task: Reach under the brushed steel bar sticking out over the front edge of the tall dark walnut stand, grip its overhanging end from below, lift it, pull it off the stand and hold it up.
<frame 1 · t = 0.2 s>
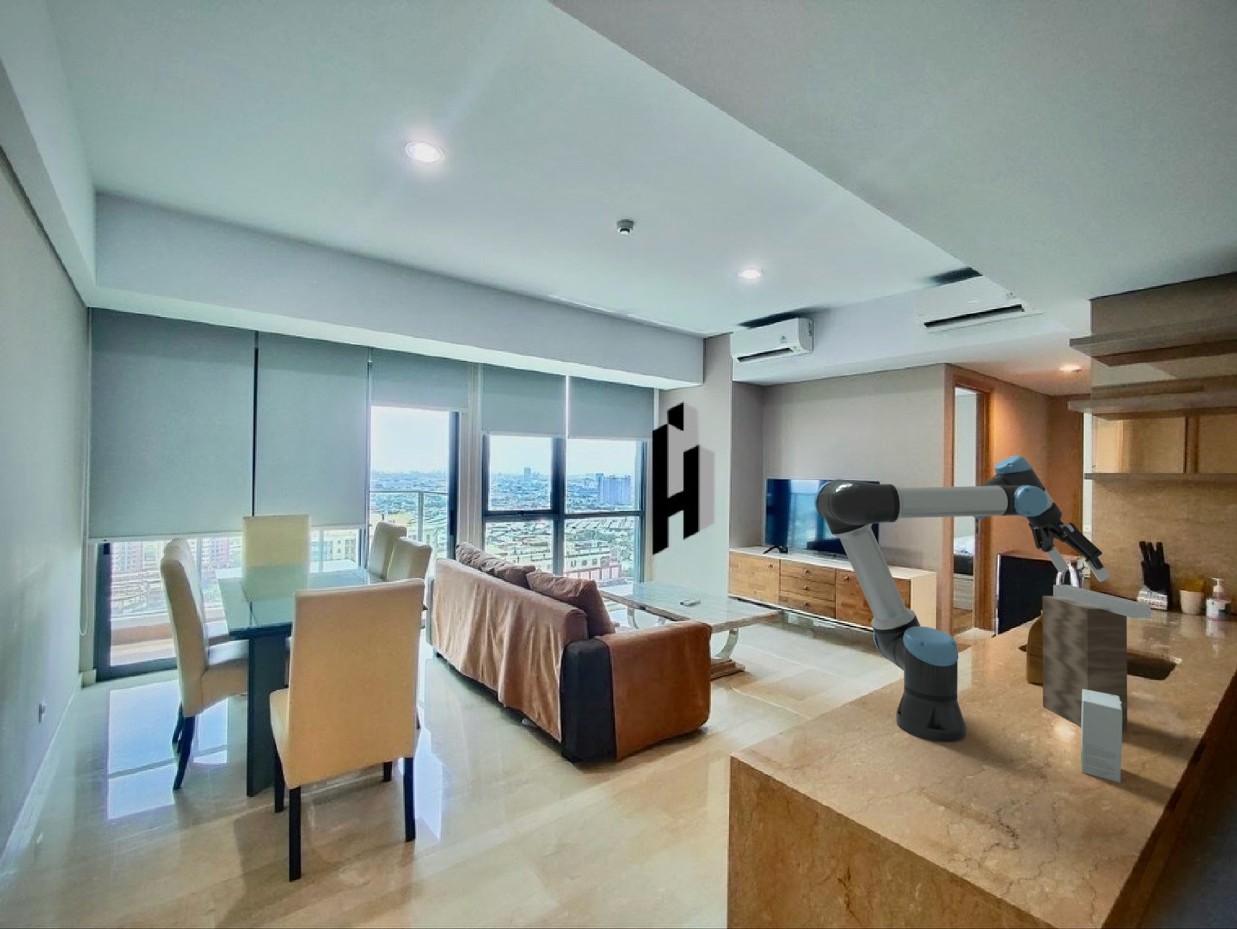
hand: (1083, 574, 151), 36 cm above the worktop, tool tilted 35°, fingers open, 13 cm apart
skincare box: (1101, 771, 119), on the worktop
steel bar: (1097, 606, 140), point 30 cm above the worktop, touching walnut stand
brown bottle: (1046, 682, 170), on the worktop
walnut stand: (1083, 717, 145), on the worktop
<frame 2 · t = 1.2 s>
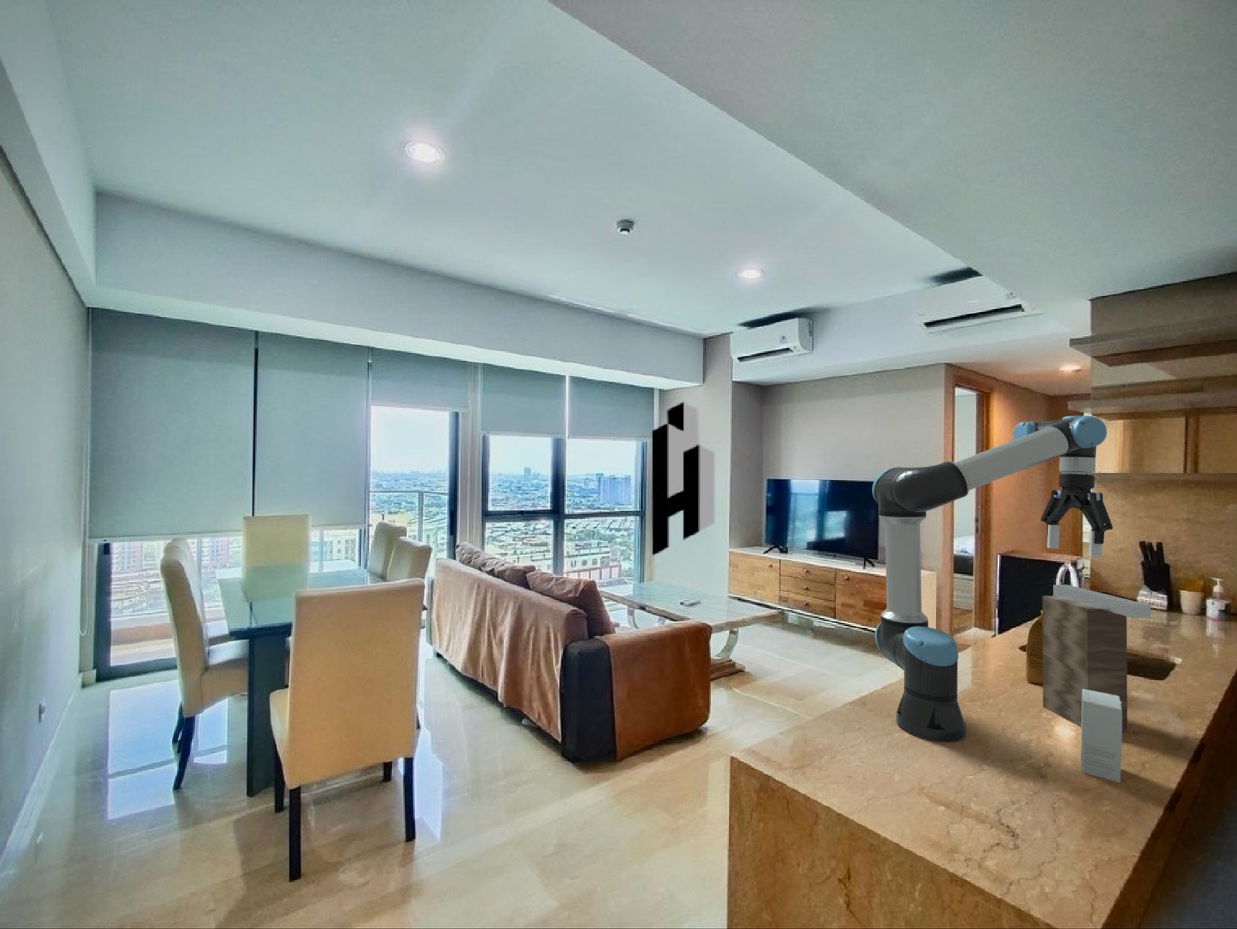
hand: (1073, 552, 151), 42 cm above the worktop, tool pointing down, fingers open, 13 cm apart
nothing on the worktop moved.
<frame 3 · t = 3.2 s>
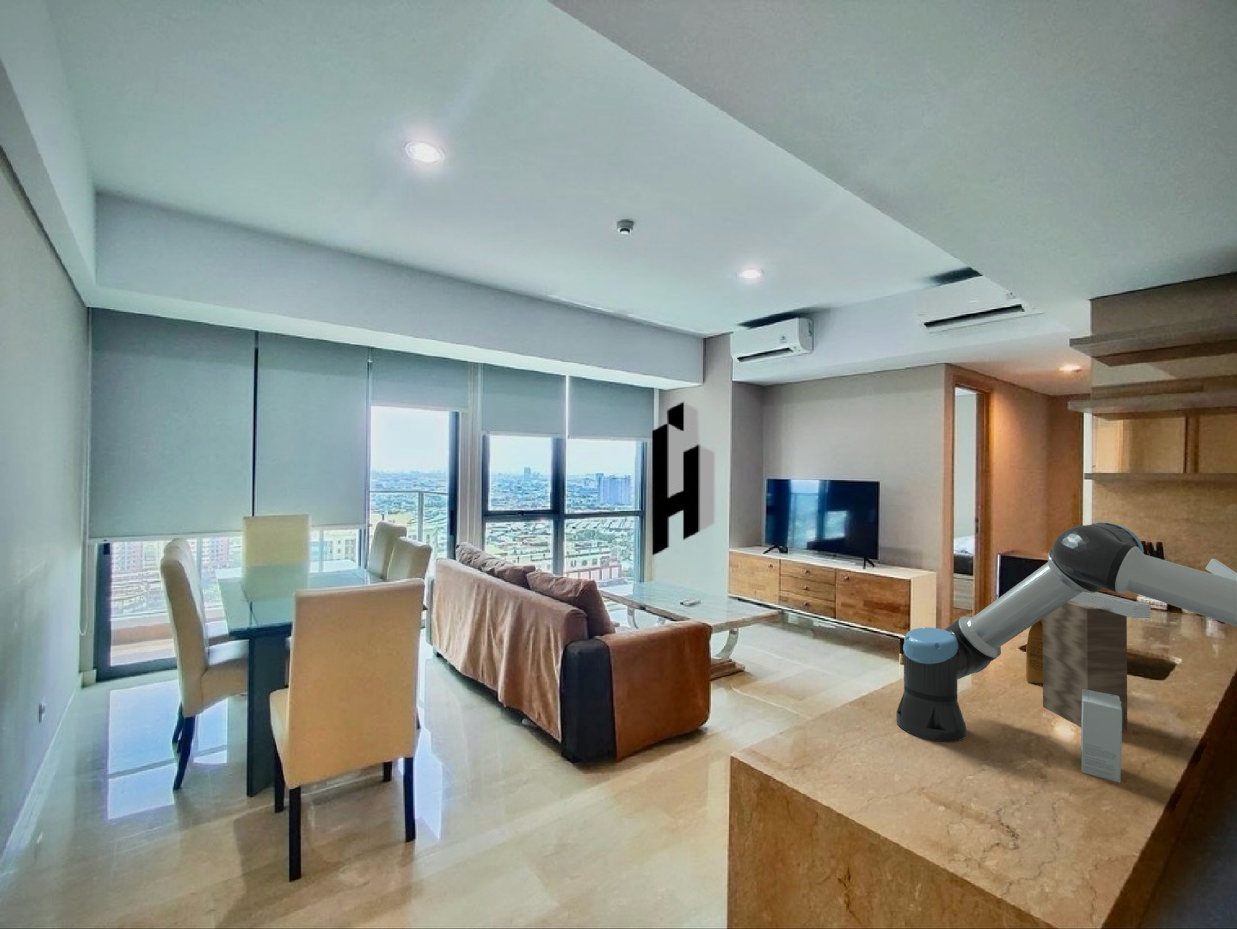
hand: (1179, 563, 121), 44 cm above the worktop, tool pointing upward, fingers open, 13 cm apart
nothing on the worktop moved.
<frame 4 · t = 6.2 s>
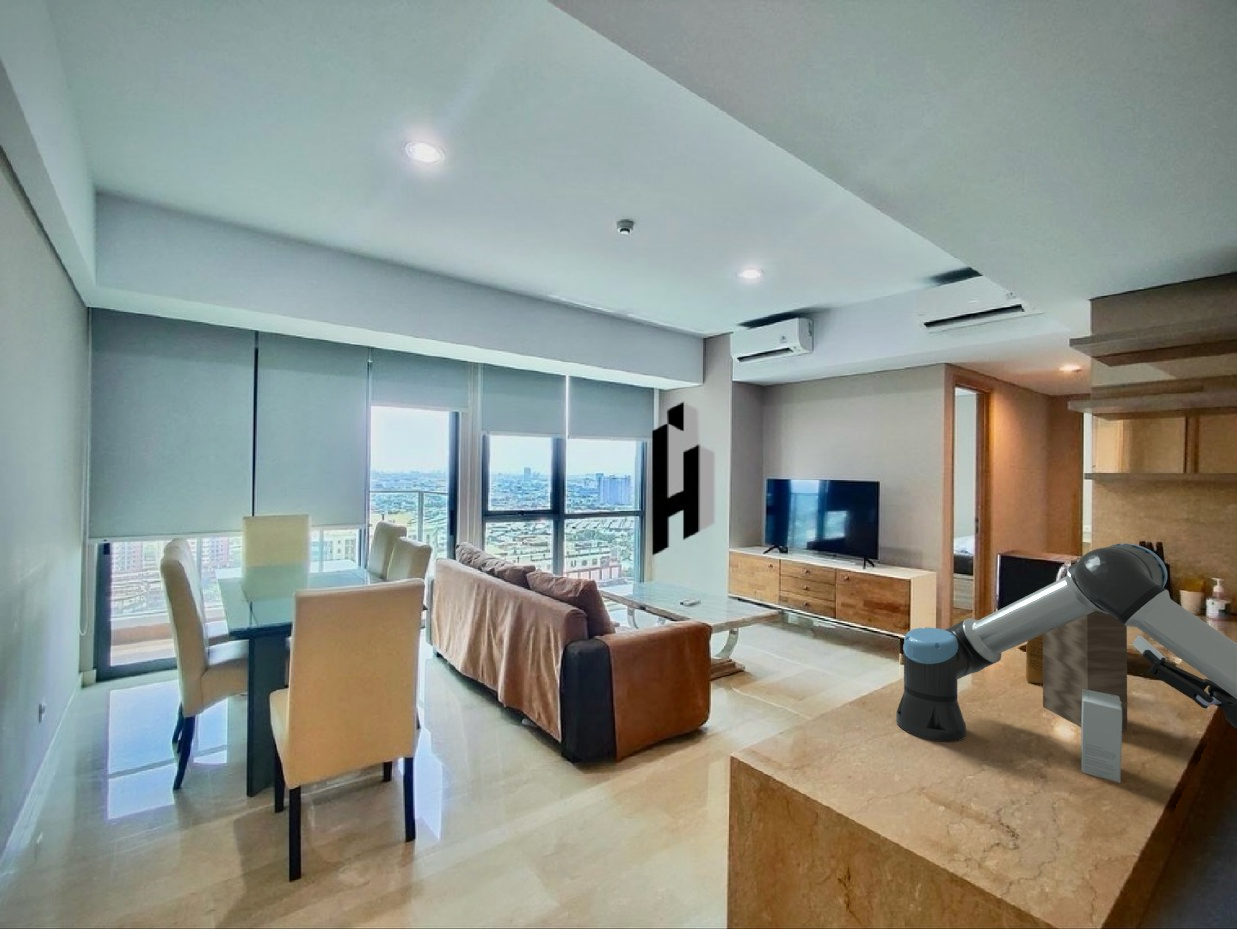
hand: (1166, 639, 124), 27 cm above the worktop, tool pointing upward, fingers open, 13 cm apart
nothing on the worktop moved.
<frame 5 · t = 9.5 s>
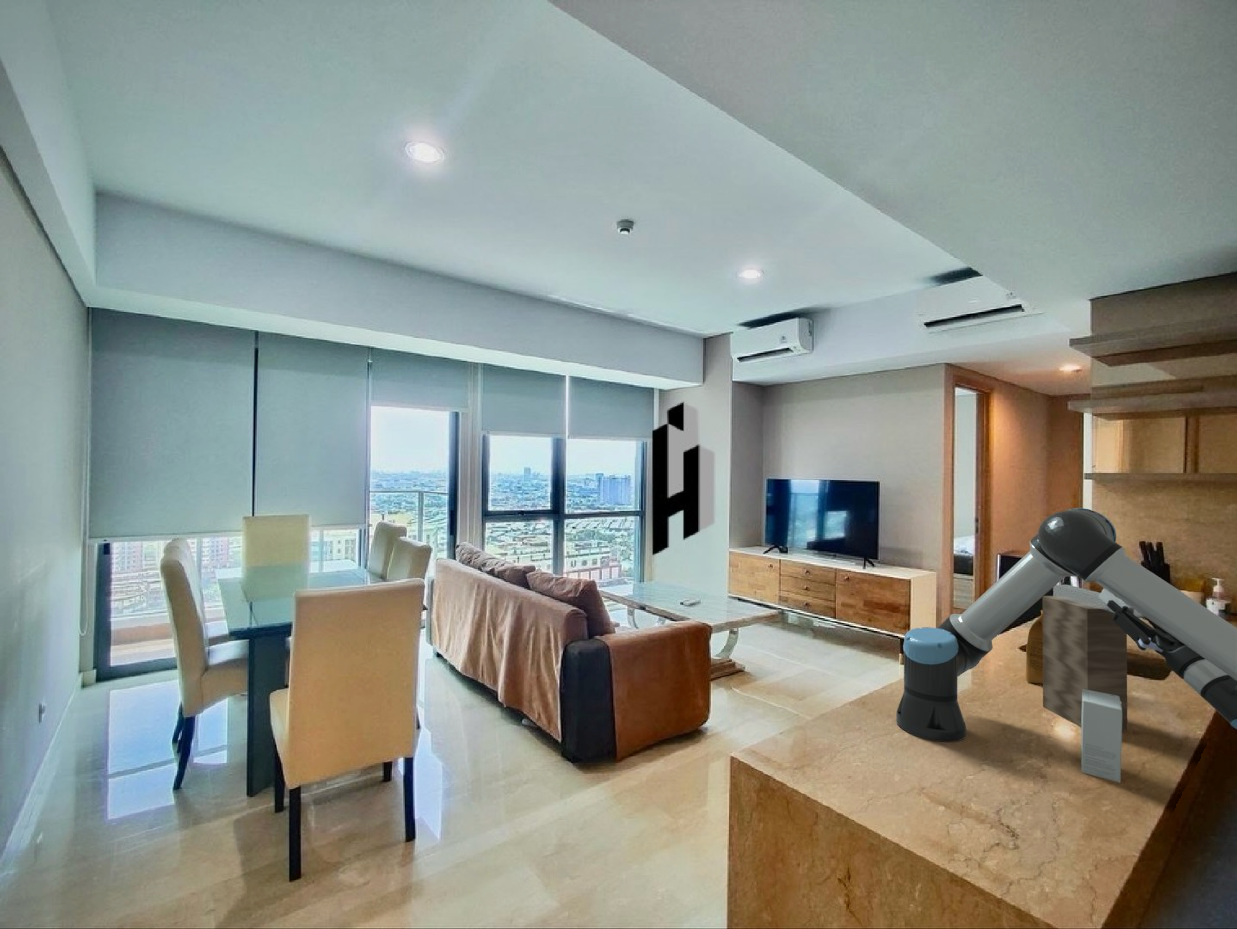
hand: (1111, 592, 137), 34 cm above the worktop, tool pointing upward, fingers closed on steel bar, 4 cm apart
steel bar: (1097, 606, 140), point 30 cm above the worktop, touching gripper, walnut stand
everything else where it was.
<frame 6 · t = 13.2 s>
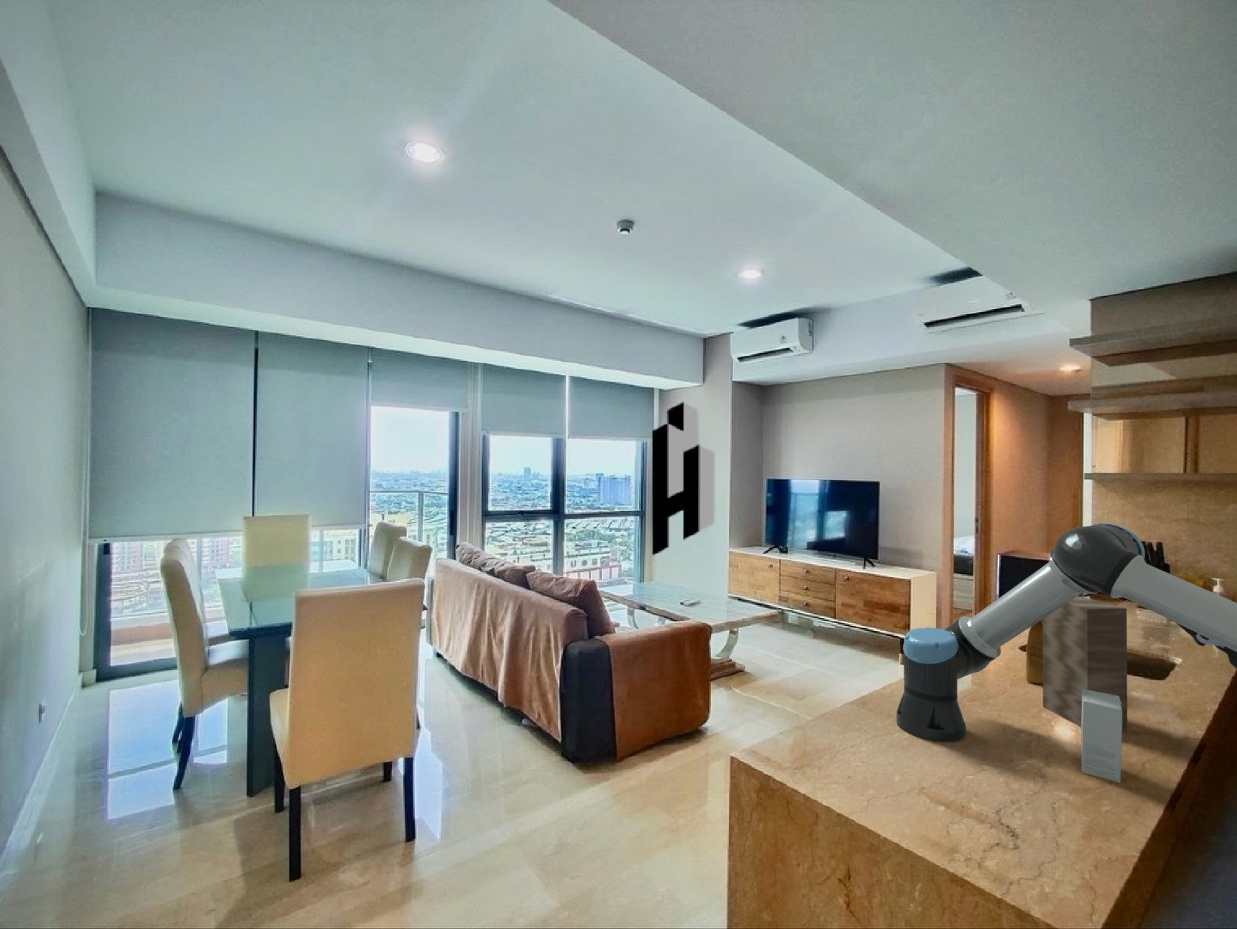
hand: (1160, 583, 125), 39 cm above the worktop, tool pointing upward, fingers closed on steel bar, 4 cm apart
steel bar: (1143, 598, 129), point 35 cm above the worktop, touching gripper
everything else where it was.
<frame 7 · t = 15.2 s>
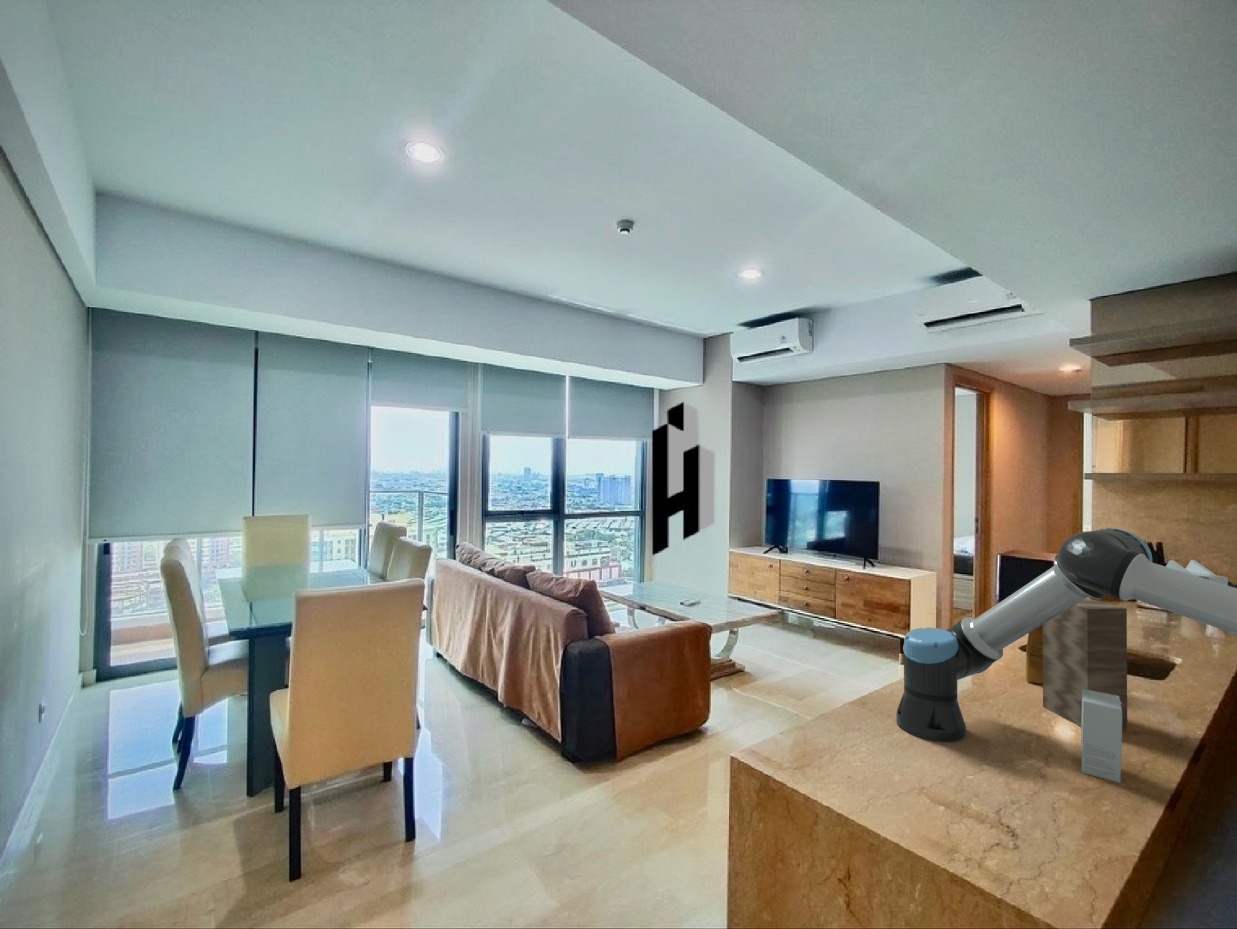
hand: (1179, 565, 121), 44 cm above the worktop, tool pointing upward, fingers closed on steel bar, 4 cm apart
steel bar: (1161, 580, 125), point 39 cm above the worktop, touching gripper
everything else where it was.
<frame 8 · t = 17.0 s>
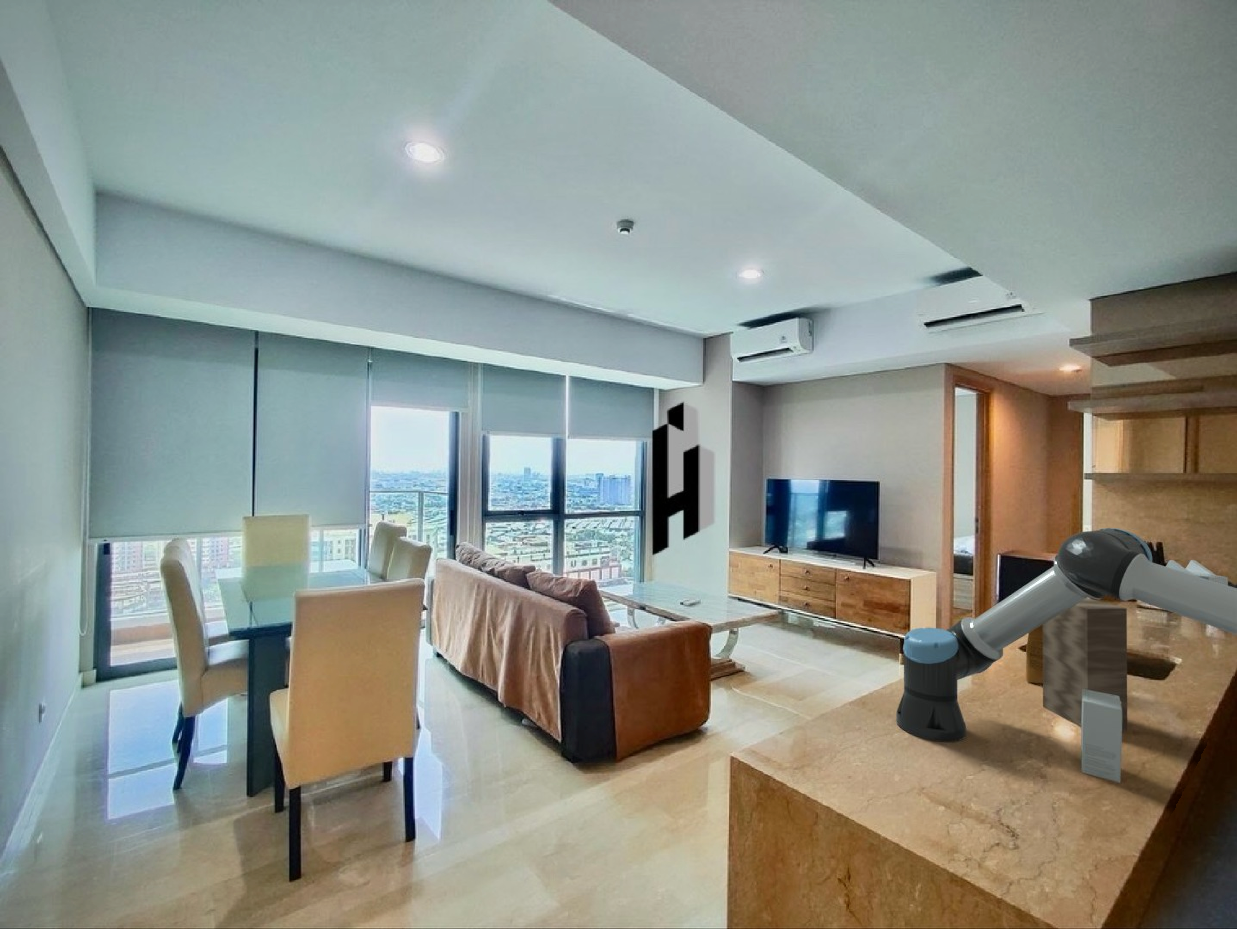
hand: (1179, 565, 121), 44 cm above the worktop, tool pointing upward, fingers closed on steel bar, 4 cm apart
steel bar: (1161, 580, 125), point 39 cm above the worktop, touching gripper
everything else where it was.
at the end: the gripper is holding steel bar; steel bar touching gripper; steel bar point 39.5 cm above the worktop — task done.
